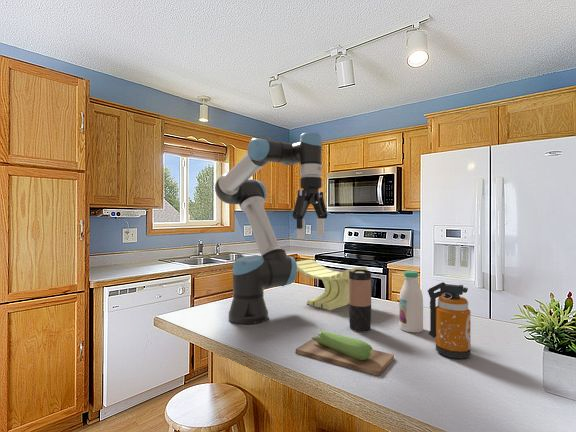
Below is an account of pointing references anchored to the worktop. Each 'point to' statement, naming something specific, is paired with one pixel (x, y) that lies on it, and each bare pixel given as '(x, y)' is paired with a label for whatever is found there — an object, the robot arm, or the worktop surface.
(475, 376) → the worktop surface
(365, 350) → the edible corn
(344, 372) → the worktop surface
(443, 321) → the canister
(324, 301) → the slatted curved stool
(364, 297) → the travel mug
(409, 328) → the milk bottle
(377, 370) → the serving board
